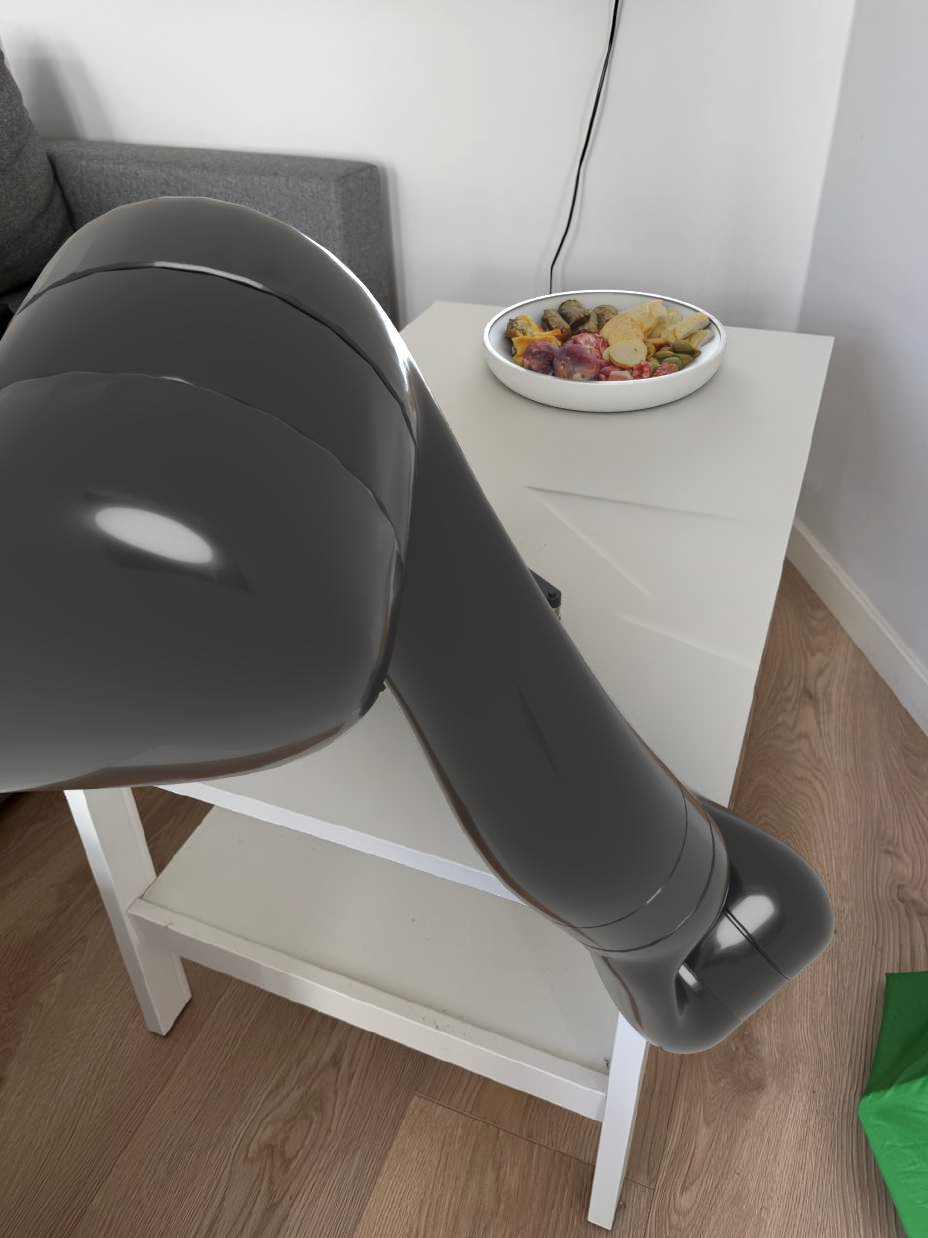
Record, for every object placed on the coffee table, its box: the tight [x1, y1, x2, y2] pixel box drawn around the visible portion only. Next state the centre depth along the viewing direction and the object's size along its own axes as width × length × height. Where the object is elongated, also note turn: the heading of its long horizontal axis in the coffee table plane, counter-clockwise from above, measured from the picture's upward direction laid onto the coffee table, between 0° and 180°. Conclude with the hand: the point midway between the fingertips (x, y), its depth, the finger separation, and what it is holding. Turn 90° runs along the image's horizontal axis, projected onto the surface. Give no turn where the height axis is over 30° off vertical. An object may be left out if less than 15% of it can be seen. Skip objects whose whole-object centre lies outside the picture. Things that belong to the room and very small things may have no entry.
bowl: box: [482, 289, 728, 413], centre depth 114 cm, size 30×30×8 cm
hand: (402, 562), depth 64 cm, fingers closed on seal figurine, 6 cm apart
